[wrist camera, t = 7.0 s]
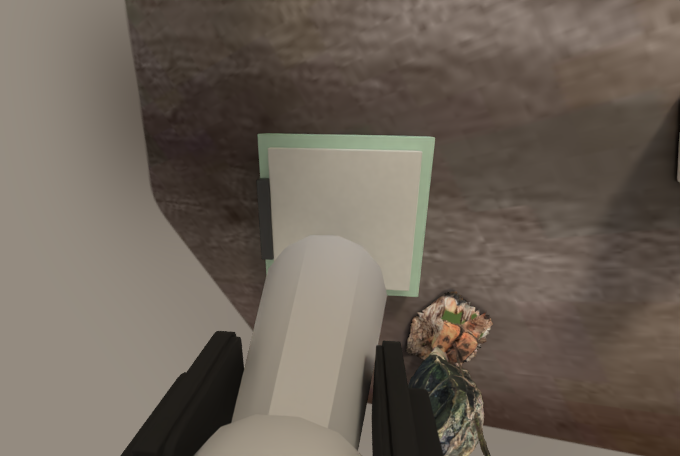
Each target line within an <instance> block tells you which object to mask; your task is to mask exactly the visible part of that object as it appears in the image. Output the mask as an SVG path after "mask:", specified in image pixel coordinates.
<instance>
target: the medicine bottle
mask: <svg viewBox="0 0 680 456" xmlns="http://www.w3.org/2000/svg"><path fill="white" fill-rule="evenodd" d="M677 181H678V182H680V134H679V152H678V170H677Z"/></svg>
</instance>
